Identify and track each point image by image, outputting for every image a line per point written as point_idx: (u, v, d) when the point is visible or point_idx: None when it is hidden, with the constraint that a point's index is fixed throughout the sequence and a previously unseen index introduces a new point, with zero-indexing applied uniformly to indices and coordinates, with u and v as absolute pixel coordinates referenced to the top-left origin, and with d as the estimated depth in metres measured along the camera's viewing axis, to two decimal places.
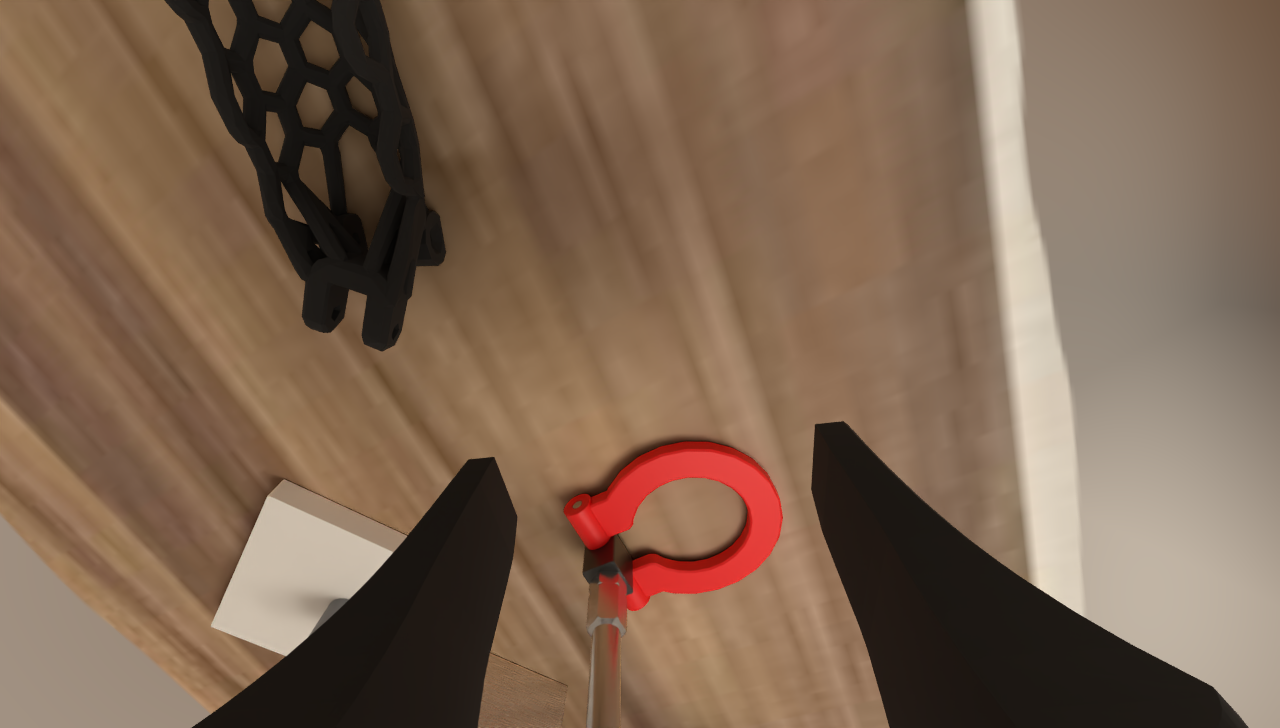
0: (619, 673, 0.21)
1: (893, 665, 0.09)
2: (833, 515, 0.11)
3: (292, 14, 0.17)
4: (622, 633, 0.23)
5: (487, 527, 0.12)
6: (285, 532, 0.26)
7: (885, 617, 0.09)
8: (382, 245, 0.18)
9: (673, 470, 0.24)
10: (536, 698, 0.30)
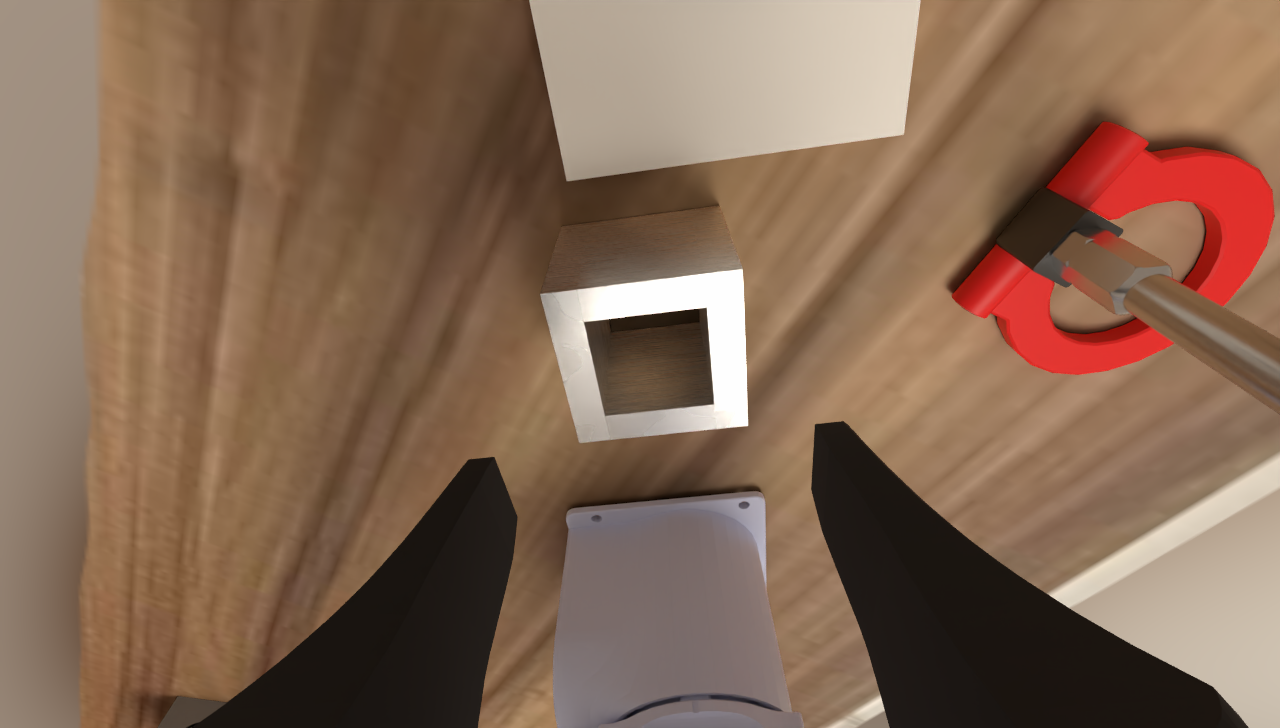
0: None
1: (893, 665, 0.09)
2: (833, 515, 0.11)
3: None
4: None
5: (487, 528, 0.12)
6: None
7: (885, 617, 0.09)
8: None
9: (1233, 200, 0.18)
10: None
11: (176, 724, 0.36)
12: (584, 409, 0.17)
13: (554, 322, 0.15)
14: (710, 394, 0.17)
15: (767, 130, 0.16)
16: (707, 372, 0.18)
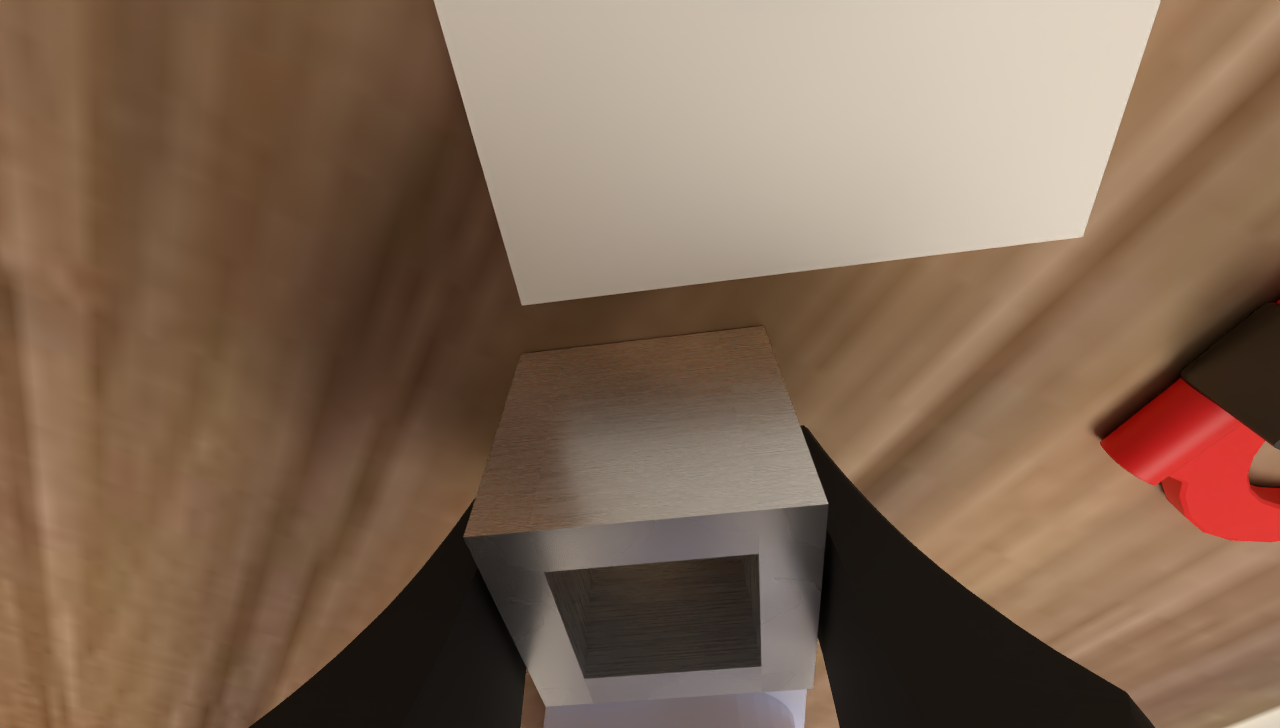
0: None
1: (841, 669, 0.09)
2: None
3: None
4: None
5: None
6: None
7: (834, 621, 0.09)
8: None
9: None
10: None
11: None
12: (550, 671, 0.11)
13: (492, 572, 0.09)
14: (753, 640, 0.11)
15: (855, 230, 0.10)
16: (745, 586, 0.12)
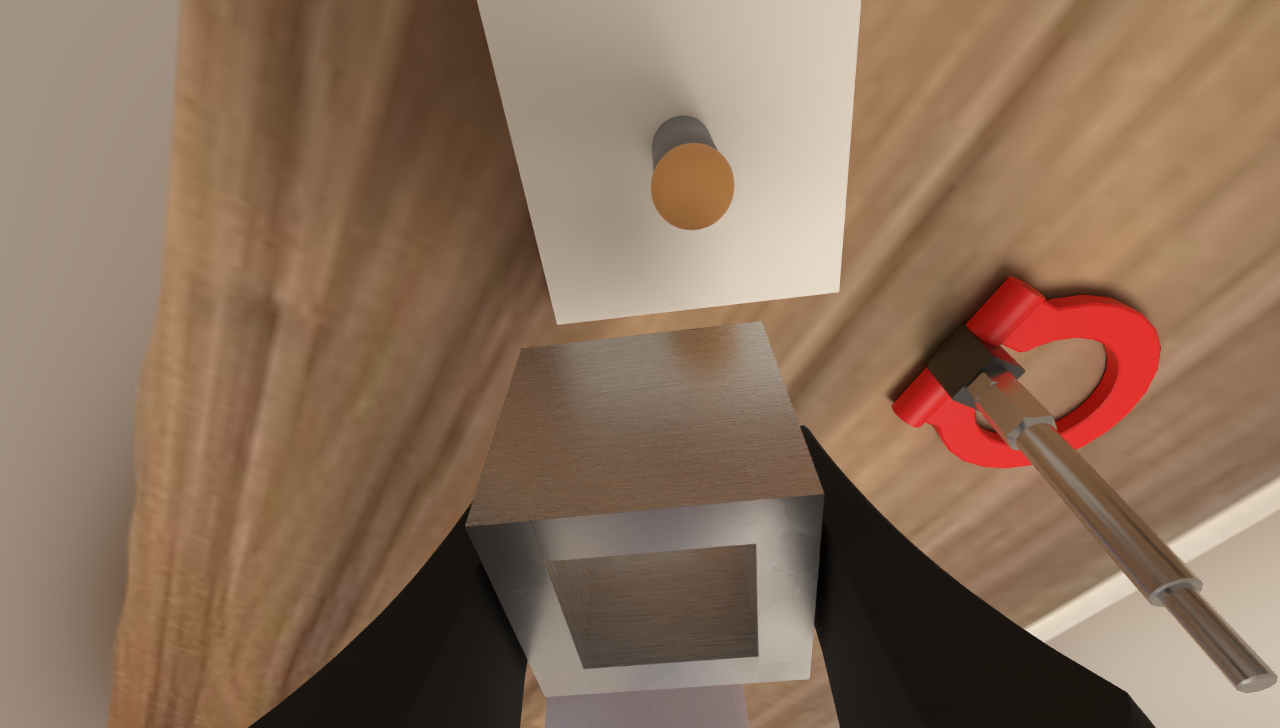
0: None
1: (841, 669, 0.09)
2: None
3: None
4: None
5: None
6: None
7: (834, 621, 0.09)
8: None
9: (1124, 337, 0.21)
10: None
11: None
12: (550, 661, 0.11)
13: (493, 562, 0.09)
14: (750, 631, 0.11)
15: (724, 288, 0.19)
16: (742, 578, 0.12)
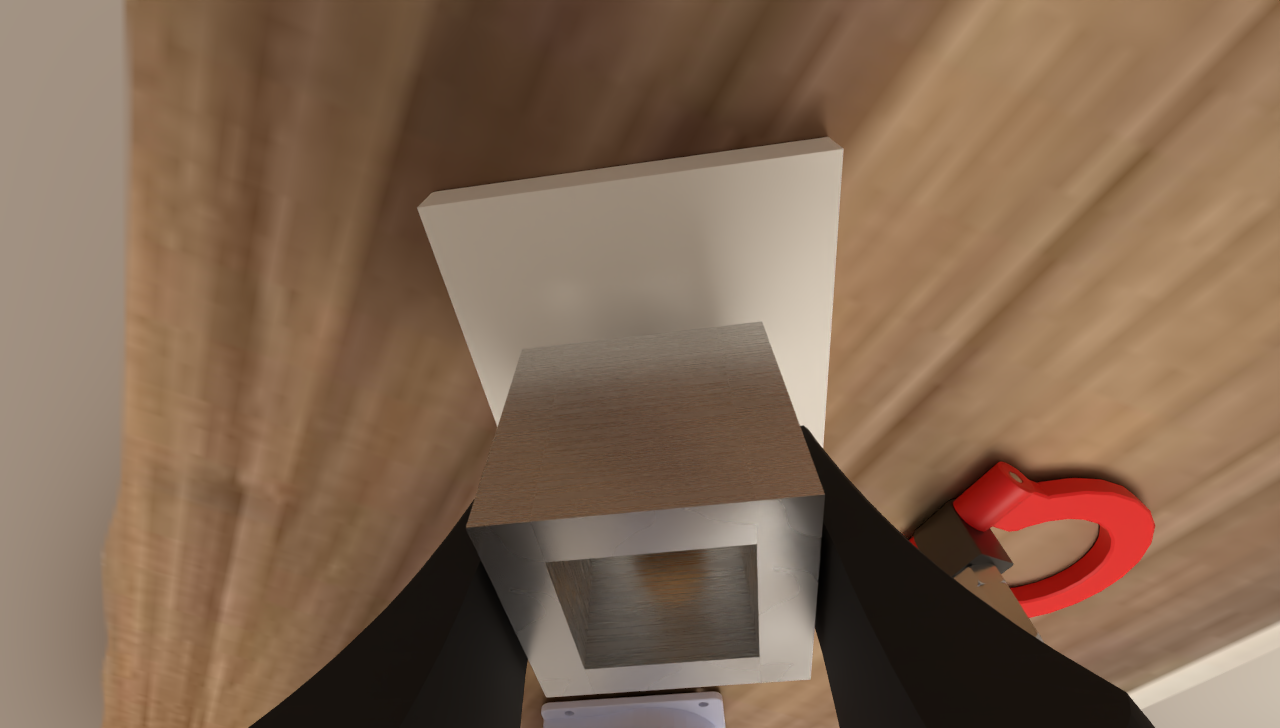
0: None
1: (841, 669, 0.09)
2: None
3: None
4: None
5: None
6: (769, 215, 0.13)
7: (834, 621, 0.09)
8: None
9: (1116, 518, 0.20)
10: None
11: None
12: (551, 661, 0.11)
13: (494, 563, 0.09)
14: (751, 631, 0.11)
15: None
16: (743, 578, 0.12)
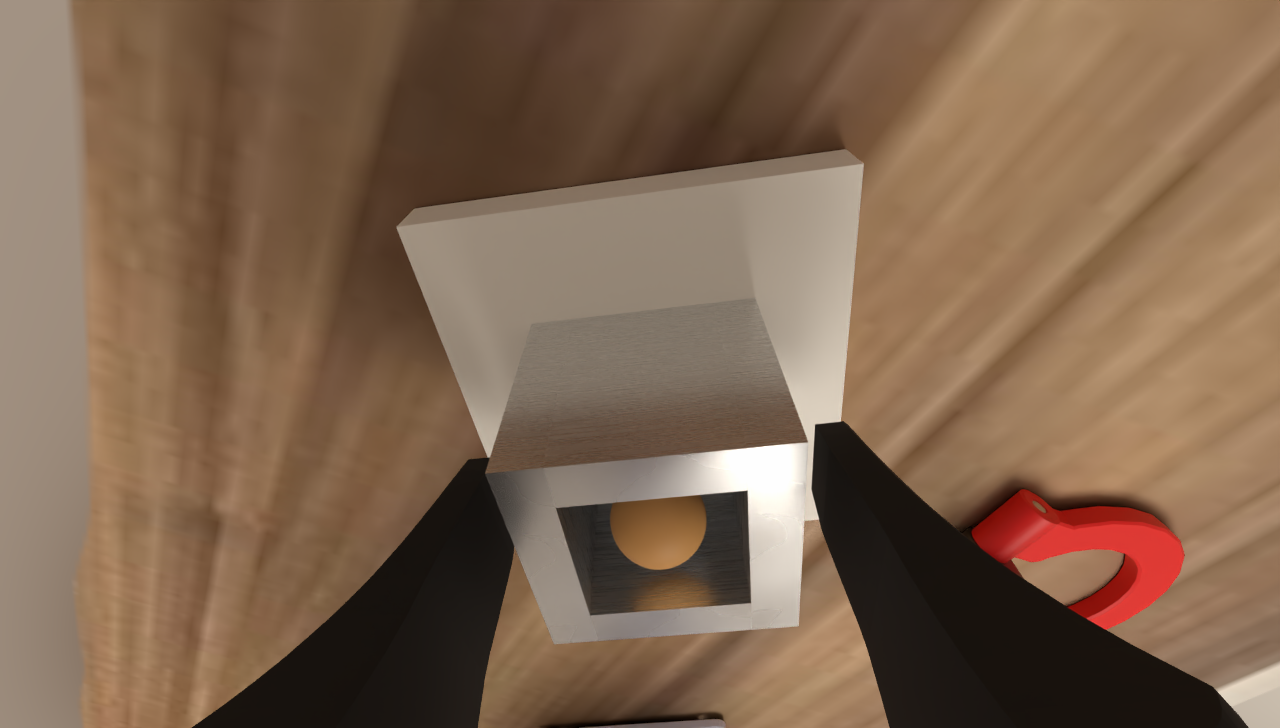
0: None
1: (893, 665, 0.09)
2: (833, 516, 0.11)
3: None
4: None
5: (487, 528, 0.12)
6: (781, 235, 0.12)
7: (885, 617, 0.09)
8: None
9: (1144, 548, 0.19)
10: None
11: None
12: (559, 608, 0.12)
13: (510, 508, 0.10)
14: (744, 581, 0.12)
15: None
16: (737, 536, 0.13)
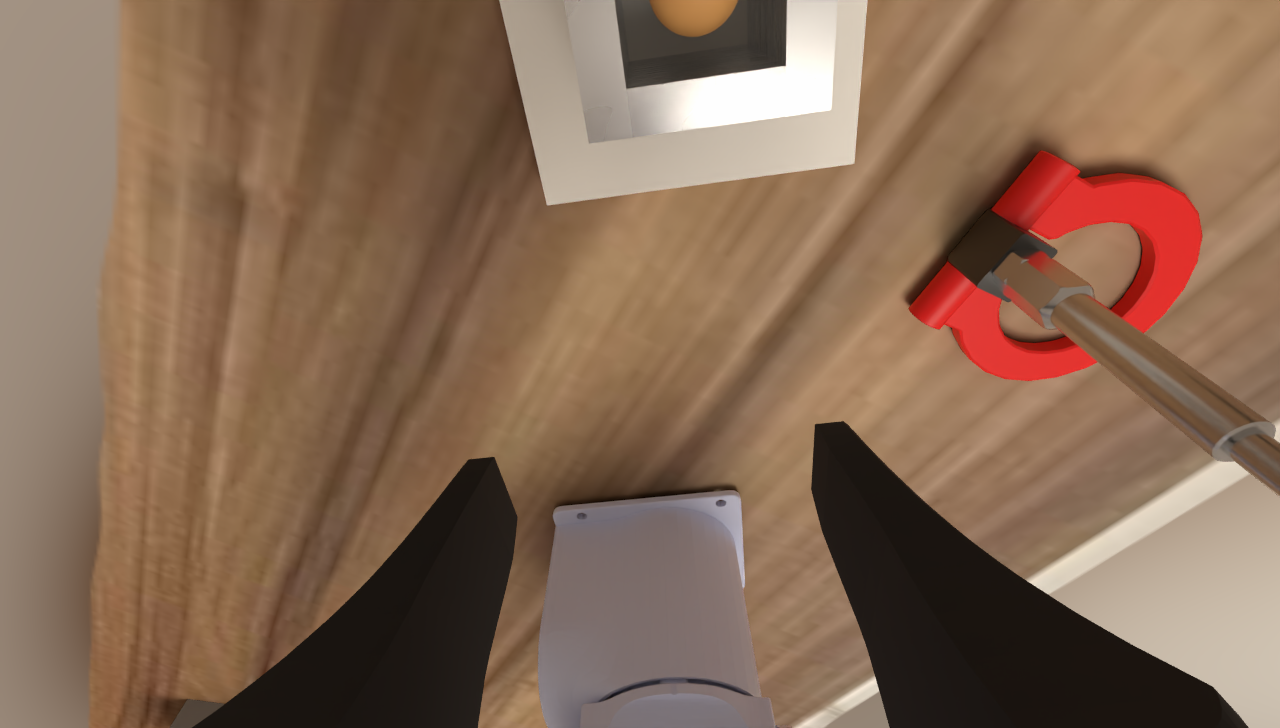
0: None
1: (893, 665, 0.09)
2: (832, 516, 0.11)
3: None
4: None
5: (487, 527, 0.12)
6: None
7: (886, 617, 0.09)
8: None
9: (1163, 221, 0.19)
10: None
11: (186, 726, 0.39)
12: (597, 73, 0.12)
13: None
14: (777, 63, 0.12)
15: (729, 160, 0.18)
16: (768, 56, 0.13)
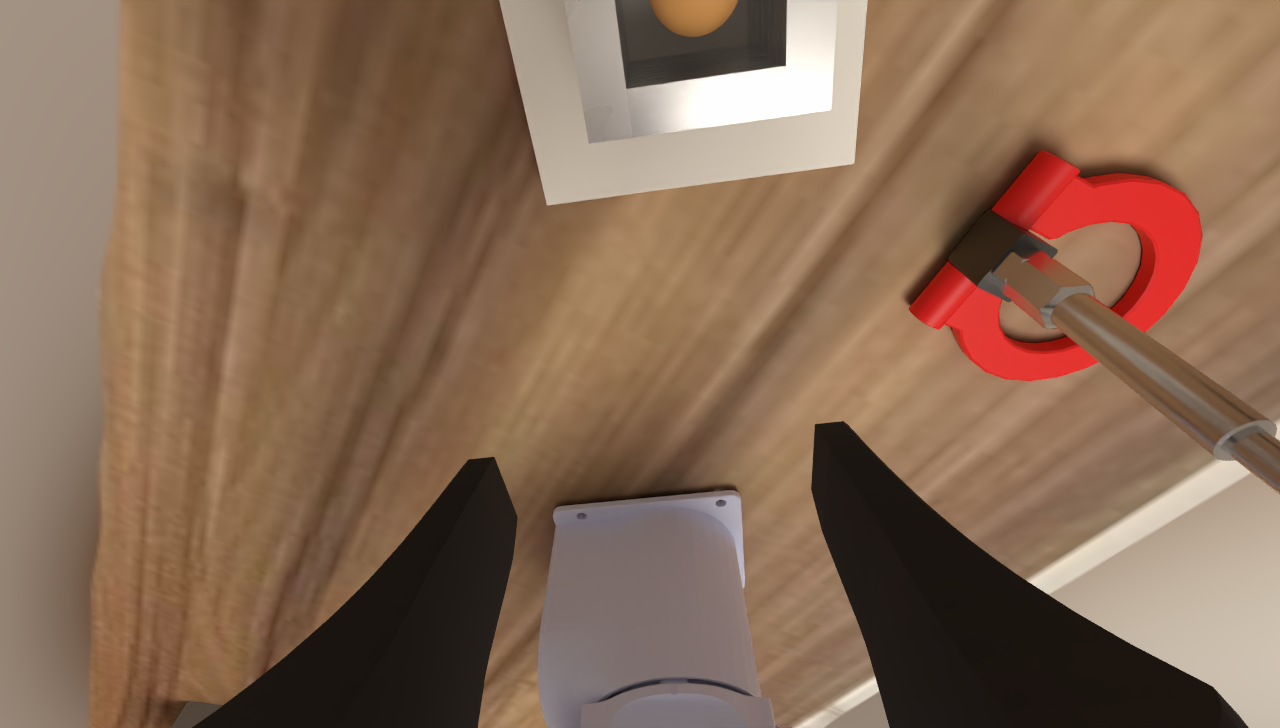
0: None
1: (893, 665, 0.09)
2: (832, 516, 0.11)
3: None
4: None
5: (487, 527, 0.12)
6: None
7: (885, 617, 0.09)
8: None
9: (1163, 221, 0.19)
10: None
11: None
12: (597, 73, 0.12)
13: None
14: (777, 63, 0.12)
15: (729, 160, 0.18)
16: (768, 56, 0.13)
